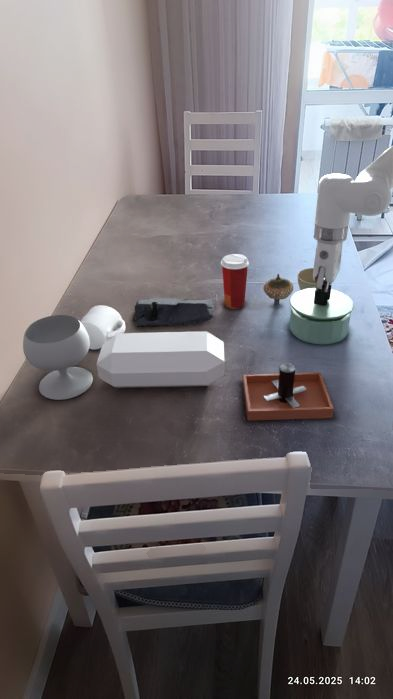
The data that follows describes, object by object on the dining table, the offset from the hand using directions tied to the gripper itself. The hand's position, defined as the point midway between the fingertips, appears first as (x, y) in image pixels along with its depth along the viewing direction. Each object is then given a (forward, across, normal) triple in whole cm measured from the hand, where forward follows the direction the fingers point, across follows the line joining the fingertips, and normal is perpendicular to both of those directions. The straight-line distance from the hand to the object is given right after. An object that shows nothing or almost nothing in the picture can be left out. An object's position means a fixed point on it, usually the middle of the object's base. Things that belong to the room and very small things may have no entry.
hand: (321, 301), depth 121 cm
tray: (+8, -31, 0) cm, 32 cm away
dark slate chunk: (+9, -7, +39) cm, 40 cm away
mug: (+9, -26, +50) cm, 57 cm away
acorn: (+9, +8, +14) cm, 18 cm away
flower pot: (+8, +16, +5) cm, 19 cm away
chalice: (+9, -44, +48) cm, 66 cm away
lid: (+1, 0, 0) cm, 1 cm away
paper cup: (+9, +5, +25) cm, 27 cm away
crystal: (+9, -33, +28) cm, 44 cm away
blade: (+8, -31, 0) cm, 32 cm away
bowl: (+8, 0, 0) cm, 8 cm away
